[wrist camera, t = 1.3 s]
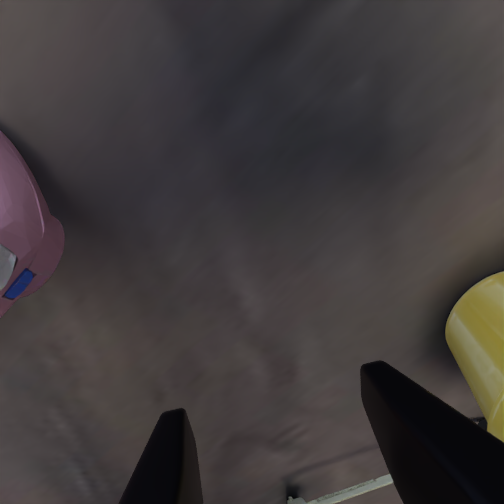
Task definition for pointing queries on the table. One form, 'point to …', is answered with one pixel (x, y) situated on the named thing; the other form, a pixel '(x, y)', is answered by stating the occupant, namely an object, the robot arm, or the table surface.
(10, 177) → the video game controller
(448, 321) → the flower pot
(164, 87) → the table surface
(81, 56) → the table surface
